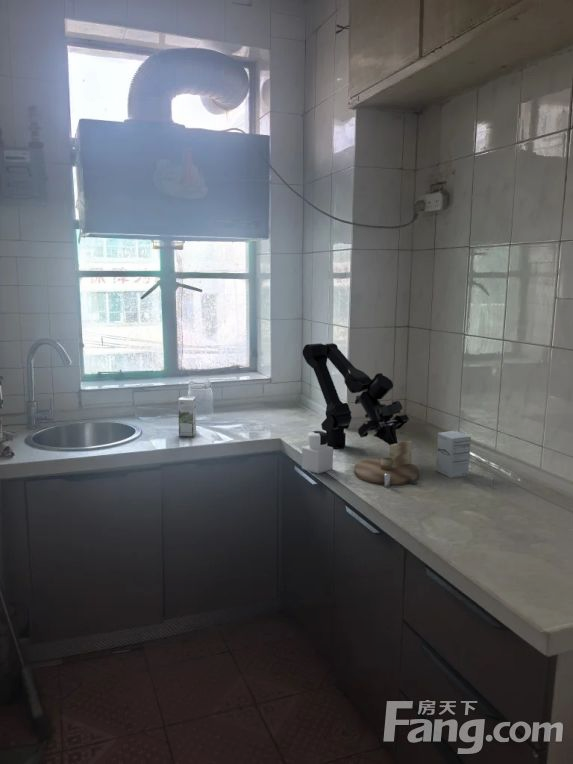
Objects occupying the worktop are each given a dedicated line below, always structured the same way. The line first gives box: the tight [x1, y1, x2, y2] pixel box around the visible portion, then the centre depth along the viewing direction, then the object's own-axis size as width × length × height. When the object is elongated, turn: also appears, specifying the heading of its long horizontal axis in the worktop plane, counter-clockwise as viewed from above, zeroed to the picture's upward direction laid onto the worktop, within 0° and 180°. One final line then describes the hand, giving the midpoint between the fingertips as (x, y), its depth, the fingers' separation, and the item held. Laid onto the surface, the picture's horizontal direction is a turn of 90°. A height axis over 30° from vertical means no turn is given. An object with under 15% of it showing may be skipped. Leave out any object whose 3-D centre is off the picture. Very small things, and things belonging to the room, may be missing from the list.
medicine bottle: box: [301, 430, 334, 475], centre depth 192 cm, size 7×7×12 cm
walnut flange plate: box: [353, 440, 421, 486], centre depth 187 cm, size 20×22×9 cm
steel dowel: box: [383, 473, 391, 489], centre depth 177 cm, size 2×2×4 cm
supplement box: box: [435, 430, 472, 479], centre depth 189 cm, size 7×7×13 cm
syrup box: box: [177, 396, 197, 438], centre depth 229 cm, size 6×6×14 cm
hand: (396, 447), depth 193 cm, fingers closed
